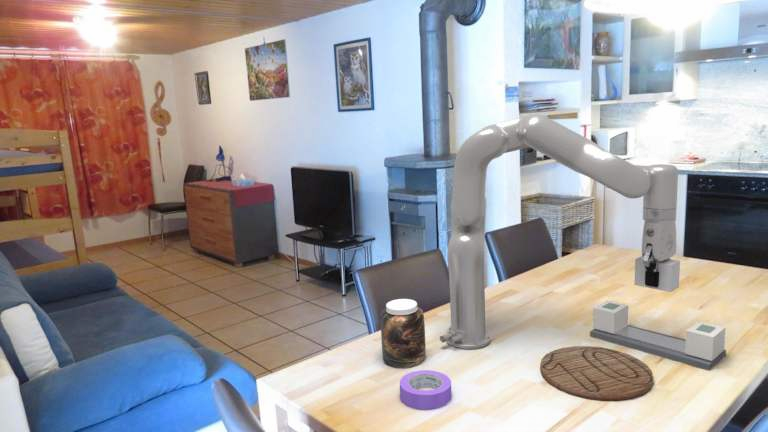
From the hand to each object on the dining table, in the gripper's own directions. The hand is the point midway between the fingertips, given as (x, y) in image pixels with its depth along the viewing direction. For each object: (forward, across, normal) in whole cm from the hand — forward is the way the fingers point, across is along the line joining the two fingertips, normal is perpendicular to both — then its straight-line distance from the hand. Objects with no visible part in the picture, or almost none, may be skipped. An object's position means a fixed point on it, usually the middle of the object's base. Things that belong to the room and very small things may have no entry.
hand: (656, 282), depth 140 cm
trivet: (+18, -25, +3) cm, 31 cm away
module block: (+1, 0, 0) cm, 1 cm away
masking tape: (+18, -60, +25) cm, 67 cm away
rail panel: (+17, 0, 0) cm, 17 cm away
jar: (+18, -50, +43) cm, 68 cm away
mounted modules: (+15, 0, 0) cm, 15 cm away
